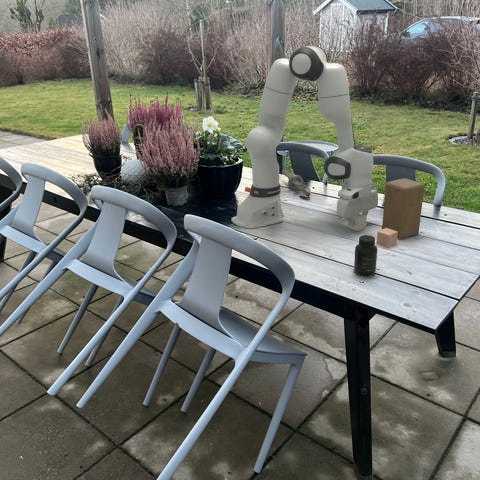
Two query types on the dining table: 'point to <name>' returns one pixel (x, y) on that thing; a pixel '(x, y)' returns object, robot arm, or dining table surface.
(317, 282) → the dining table surface
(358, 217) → the cream cube
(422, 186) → the wooden block
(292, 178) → the spaceship
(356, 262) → the supplement bottle
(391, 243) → the peach cube
